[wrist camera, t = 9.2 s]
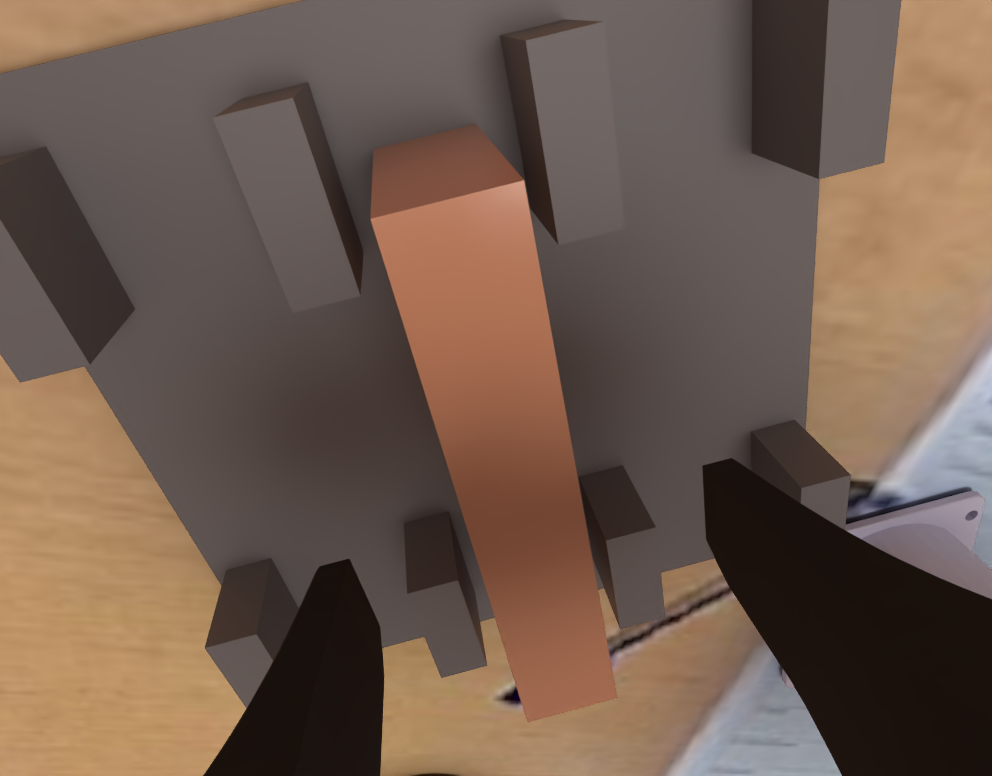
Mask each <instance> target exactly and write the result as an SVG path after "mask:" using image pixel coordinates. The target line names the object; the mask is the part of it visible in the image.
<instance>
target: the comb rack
mask: <svg viewBox="0 0 992 776" xmlns="http://www.w3.org/2000/svg"><path fill="white" fill-rule="evenodd" d="M900 8H901V0H304V1H300V2H296V3H292V4H287V5H283V6H279V7H275V8H271V9H267V10H263V11H258V12H254V13H250V14H246V15H242V16H238V17H234V18H229V19H225V20H221V21H217V22H213V23H209V24H205V25H200V26H196V27H192V28H188V29H184V30H180V31H176V32H171V33H167V34H163V35H159V36H155V37H151V38H147V39H143V40H138V41H134V42H130V43H126V44H122V45H118V46H114V47H109V48H105V49H101V50H97V51H93V52H89V53H85V54H80V55H76V56H72V57H68V58H64V59H60V60H56V61H51V62H47V63H43V64H39V65H35V66H31V67H27V68H22V69H18V70H14V71H10V72H6V73H2V74H0V354H1V356H2V357H3V359H4V360H5V362H6V363H7V364H8V366H9V367H10V369H11V370H12V372H13V373H14V375H15V376H16V377H17V379H18V380H19V382H20V383H21V382H25V381H28V380H32V379H36V378H40V377H44V376H48V375H52V374H56V373H60V372H64V371H68V370H72V369H76V368H79V367H83V366H85V368H86V369H87V371H88V372H89V374H90V376H91V377H92V379H93V380H94V382H95V384H96V385H97V387H98V388H99V390H100V392H101V393H102V395H103V396H104V398H105V400H106V401H107V403H108V404H109V406H110V408H111V409H112V411H113V413H114V414H115V416H116V417H117V419H118V421H119V422H120V424H121V425H122V427H123V429H124V430H125V432H126V433H127V435H128V437H129V438H130V440H131V441H132V443H133V445H134V446H135V448H136V449H137V451H138V453H139V454H140V456H141V457H142V459H143V461H144V462H145V464H146V465H147V467H148V469H149V470H150V472H151V473H152V475H153V477H154V478H155V480H156V481H157V483H158V485H159V486H160V488H161V489H162V491H163V493H164V494H165V496H166V497H167V499H168V501H169V502H170V504H171V505H172V507H173V509H174V510H175V512H176V513H177V515H178V517H179V518H180V520H181V521H182V523H183V525H184V526H185V528H186V529H187V531H188V533H189V534H190V536H191V538H192V539H193V541H194V542H195V544H196V546H197V547H198V549H199V550H200V552H201V554H202V555H203V557H204V558H205V560H206V562H207V563H208V565H209V566H210V568H211V570H212V571H213V573H214V574H215V576H216V578H217V579H218V581H219V582H220V584H221V586H222V587H221V590H220V594H219V598H218V601H217V605H216V609H215V612H214V616H213V620H212V623H211V627H210V631H209V634H208V638H207V642H206V645H205V649H206V651H207V652H208V654H209V655H210V656H211V658H212V659H213V661H214V662H215V664H216V665H217V667H218V668H219V669H220V671H221V672H222V674H223V675H224V677H225V678H226V679H227V681H228V682H229V684H230V685H231V687H232V688H233V690H234V691H235V692H236V694H237V695H238V697H239V698H240V700H241V701H242V702H243V704H244V705H245V707H246V708H247V707H248V705H249V703H250V702H251V700H252V698H253V696H254V695H255V693H256V691H257V689H258V687H259V686H260V684H261V682H262V680H263V679H264V677H265V675H266V673H267V671H268V670H269V668H270V666H271V664H272V662H273V660H274V658H275V656H276V654H277V652H278V650H279V648H280V646H281V644H282V642H283V640H284V638H285V636H286V634H287V632H288V630H289V628H290V626H291V624H292V622H293V620H294V618H295V616H296V614H297V612H298V609H299V607H300V605H301V603H302V601H303V599H304V596H305V594H306V592H307V590H308V588H309V585H310V583H311V581H312V579H313V577H314V574H315V572H316V571H317V569H318V568H319V566H322V565H326V564H330V563H334V562H338V561H341V560H345V559H350V561H351V563H352V565H353V567H354V570H355V572H356V574H357V576H358V578H359V581H360V583H361V585H362V587H363V589H364V592H365V594H366V596H367V598H368V600H369V602H370V605H371V607H372V609H373V611H374V613H375V616H376V618H377V620H378V622H379V624H380V629H381V641H382V648H384V647H387V646H391V645H395V644H399V643H402V642H406V641H410V640H413V639H417V638H421V637H425V639H426V641H427V644H428V646H429V649H430V651H431V654H432V656H433V659H434V661H435V663H436V666H437V668H438V671H439V673H440V676H441V678H443V677H447V676H450V675H454V674H458V673H461V672H465V671H469V670H473V669H476V668H480V667H484V666H487V661H486V655H485V649H484V643H483V637H482V631H481V625H480V621H484V620H487V619H491V618H495V616H494V613H493V610H492V607H491V603H490V600H489V597H488V594H487V591H486V587H485V584H484V581H483V578H482V575H481V571H480V568H479V565H478V562H477V559H476V555H475V552H474V549H473V546H472V543H471V539H470V536H469V533H468V530H467V527H466V523H465V520H464V517H463V514H462V511H461V507H460V504H459V501H458V498H457V495H456V491H455V488H454V485H453V482H452V479H451V475H450V472H449V469H448V466H447V463H446V459H445V456H444V453H443V450H442V447H441V443H440V440H439V437H438V434H437V431H436V427H435V424H434V421H433V418H432V415H431V411H430V408H429V405H428V402H427V398H426V395H425V392H424V389H423V386H422V382H421V379H420V376H419V373H418V370H417V366H416V363H415V360H414V357H413V354H412V350H411V347H410V344H409V341H408V338H407V334H406V331H405V328H404V325H403V322H402V318H401V315H400V312H399V309H398V306H397V302H396V299H395V296H394V293H393V290H392V286H391V283H390V280H389V277H388V274H387V270H386V267H385V264H384V261H383V258H382V254H381V251H380V248H379V245H378V242H377V238H376V235H375V232H374V229H373V226H372V222H371V219H370V217H371V194H372V171H373V149H376V148H380V147H384V146H388V145H392V144H396V143H400V142H404V141H408V140H412V139H416V138H420V137H424V136H428V135H432V134H436V133H440V132H444V131H449V130H453V129H457V128H461V127H465V126H469V125H473V124H477V125H478V126H479V128H480V129H481V130H482V131H483V132H484V134H485V135H486V136H487V137H488V138H489V139H490V141H491V142H492V143H493V144H494V145H495V146H496V148H497V149H498V150H499V151H500V152H501V154H502V155H503V156H504V157H505V158H506V159H507V161H508V162H509V163H510V164H511V165H512V166H513V168H514V169H515V170H516V171H517V172H518V174H519V175H520V176H521V177H522V178H523V179H524V182H525V187H526V193H527V199H528V204H529V210H530V215H531V221H532V226H533V232H534V237H535V243H536V249H537V254H538V260H539V265H540V271H541V276H542V282H543V288H544V293H545V299H546V304H547V310H548V315H549V321H550V327H551V332H552V338H553V343H554V349H555V354H556V360H557V365H558V371H559V377H560V382H561V388H562V393H563V399H564V404H565V410H566V416H567V421H568V427H569V432H570V438H571V443H572V449H573V455H574V460H575V466H576V471H577V477H578V482H579V488H580V493H581V499H582V505H583V510H584V516H585V521H586V527H587V532H588V538H589V544H590V549H591V555H592V560H593V566H594V571H595V577H596V582H597V588H598V590H599V589H602V588H604V589H605V591H606V594H607V596H608V599H609V602H610V604H611V607H612V609H613V612H614V614H615V617H616V620H617V622H618V625H619V627H620V629H623V628H627V627H631V626H634V625H638V624H642V623H645V622H649V621H653V620H656V619H660V618H664V617H665V609H664V599H663V589H662V580H661V573H662V572H665V571H669V570H673V569H676V568H680V567H684V566H688V565H691V564H695V563H699V562H702V561H706V560H710V559H713V558H715V557H714V555H713V553H712V551H711V549H710V547H709V545H708V543H707V541H706V530H705V510H704V490H703V470H702V466H703V465H706V464H710V463H714V462H718V461H722V460H725V459H729V458H733V459H734V460H736V461H738V462H739V463H741V464H742V465H744V466H745V467H747V468H748V469H750V470H751V471H753V472H754V473H756V474H757V475H759V476H760V477H762V478H763V479H765V480H766V481H768V482H769V483H771V484H772V485H774V486H775V487H777V488H778V489H780V490H781V491H783V492H784V493H786V494H787V495H789V496H790V497H792V498H793V499H795V500H796V501H798V502H800V503H801V504H803V505H804V506H806V507H808V508H809V509H811V510H812V511H814V512H816V513H817V514H819V515H821V516H822V517H824V518H825V519H827V520H829V521H830V522H832V523H834V524H835V525H837V526H839V527H841V528H842V529H844V530H845V525H846V516H847V506H848V497H849V488H850V478H851V475H850V474H849V473H848V472H847V471H846V470H845V469H844V468H843V467H842V466H841V465H840V464H839V463H838V462H837V461H836V460H835V459H834V458H833V457H832V456H831V455H830V454H829V453H828V452H827V451H826V450H825V449H824V448H823V447H822V446H821V445H820V444H819V443H818V442H817V441H816V440H815V439H814V438H813V437H812V436H811V435H810V434H809V433H808V432H807V431H806V412H807V394H808V376H809V358H810V341H811V323H812V305H813V287H814V269H815V252H816V234H817V216H818V198H819V180H820V179H822V178H826V177H829V176H833V175H837V174H841V173H845V172H849V171H853V170H857V169H861V168H865V167H869V166H873V165H877V164H880V163H884V158H885V149H886V140H887V130H888V121H889V111H890V102H891V93H892V83H893V74H894V64H895V55H896V46H897V36H898V27H899V17H900Z"/></svg>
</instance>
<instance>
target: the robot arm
mask: <svg viewBox="0 0 992 776" xmlns="http://www.w3.org/2000/svg"><path fill="white" fill-rule="evenodd" d="M702 470H703V490H704V510H705V530H706V541H707V543H708V545H709V547H710V549H711V551H712V553H713V555H714V557H715V559H716V561H717V564H718V566H719V568H720V569H721V571H722V573H723V575H724V577H725V579H726V581H727V583H728V585H729V587H730V588H731V590H732V591H733V593H734V595H735V596H736V598H737V599H738V601H739V602H740V604H741V605H742V607H743V609H744V610H745V612H746V613H747V615H748V616H749V618H750V619H751V621H752V622H753V624H754V625H755V627H756V629H757V630H758V632H759V633H760V635H761V636H762V638H763V639H764V641H765V642H766V644H767V645H768V647H769V648H770V650H771V651H772V653H773V654H774V656H775V658H776V659H777V661H778V662H779V664H780V665H781V667H782V680H783V682H784V683H785V685H786V686H787V687H789V688H795V689H796V690H797V692H798V694H799V695H800V697H801V699H802V700H803V702H804V704H805V705H806V707H807V709H808V711H809V713H810V715H811V717H812V719H813V721H814V722H815V724H816V726H817V728H818V730H819V732H820V734H821V736H822V738H823V739H824V741H825V743H826V745H827V747H828V749H829V751H830V753H831V755H832V757H833V759H834V761H835V763H836V765H837V767H838V768H839V770H840V772H841V774H842V776H992V570H991V569H990V568H989V567H988V566H987V565H986V564H985V563H984V562H983V561H981V560H980V559H979V558H978V557H977V556H976V555H975V554H974V553H973V552H972V551H973V548H974V544H975V540H976V536H977V532H978V528H979V524H980V520H981V516H982V512H983V508H984V504H985V499H984V497H983V496H982V495H980V494H979V493H978V492H976V491H968V492H964V493H961V494H957V495H953V496H949V497H946V498H942V499H938V500H935V501H931V502H927V503H924V504H920V505H916V506H912V507H909V508H905V509H901V510H898V511H894V512H890V513H886V514H883V515H879V516H875V517H872V518H868V519H864V520H861V521H857V522H853V523H849V524H846V525H845V530H844V529H842V528H841V527H839V526H837V525H835V524H834V523H832V522H830V521H829V520H827V519H825V518H824V517H822V516H821V515H819V514H817V513H816V512H814V511H812V510H811V509H809V508H808V507H806V506H804V505H803V504H801V503H800V502H798V501H796V500H795V499H793V498H792V497H790V496H789V495H787V494H786V493H784V492H783V491H781V490H780V489H778V488H777V487H775V486H774V485H772V484H771V483H769V482H768V481H766V480H765V479H763V478H762V477H760V476H759V475H757V474H756V473H754V472H753V471H751V470H750V469H748V468H747V467H745V466H744V465H742V464H741V463H739V462H738V461H736V460H734V459H733V458H729V459H725V460H722V461H718V462H714V463H710V464H706V465H703V466H702ZM383 696H384V667H383V652H382V641H381V629H380V624H379V622H378V620H377V618H376V616H375V613H374V611H373V609H372V607H371V605H370V602H369V600H368V598H367V596H366V594H365V592H364V589H363V587H362V585H361V583H360V581H359V578H358V576H357V574H356V572H355V570H354V567H353V565H352V563H351V561H350V559H345V560H341V561H338V562H334V563H330V564H326V565H322V566H319V568H318V569H317V571H316V572H315V574H314V577H313V579H312V581H311V583H310V585H309V588H308V590H307V592H306V594H305V596H304V599H303V601H302V603H301V605H300V607H299V609H298V612H297V614H296V616H295V618H294V620H293V622H292V624H291V626H290V628H289V630H288V632H287V634H286V636H285V638H284V640H283V642H282V644H281V646H280V648H279V650H278V652H277V654H276V656H275V658H274V660H273V662H272V664H271V666H270V668H269V670H268V671H267V673H266V675H265V677H264V679H263V680H262V682H261V684H260V686H259V687H258V689H257V691H256V693H255V695H254V696H253V698H252V700H251V702H250V703H249V705H248V707H247V709H246V710H245V712H244V714H243V715H242V717H241V719H240V720H239V722H238V724H237V725H236V727H235V729H234V730H233V732H232V733H231V735H230V736H229V738H228V740H227V741H226V743H225V744H224V746H223V747H222V749H221V750H220V752H219V753H218V755H217V756H216V758H215V759H214V761H213V762H212V764H211V765H210V767H209V768H208V770H207V771H206V773H205V774H204V775H203V776H380V767H381V744H382V722H383Z"/></svg>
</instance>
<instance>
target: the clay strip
mask: <svg viewBox="0 0 992 776" xmlns="http://www.w3.org/2000/svg"><path fill="white" fill-rule="evenodd" d="M370 219H371V222H372V226H373V229H374V232H375V235H376V238H377V242H378V245H379V248H380V251H381V254H382V258H383V261H384V264H385V267H386V270H387V274H388V277H389V280H390V283H391V286H392V290H393V293H394V296H395V299H396V302H397V306H398V309H399V312H400V315H401V318H402V322H403V325H404V328H405V331H406V334H407V338H408V341H409V344H410V347H411V350H412V354H413V357H414V360H415V363H416V366H417V370H418V373H419V376H420V379H421V382H422V386H423V389H424V392H425V395H426V398H427V402H428V405H429V408H430V411H431V415H432V418H433V421H434V424H435V427H436V431H437V434H438V437H439V440H440V443H441V447H442V450H443V453H444V456H445V459H446V463H447V466H448V469H449V472H450V475H451V479H452V482H453V485H454V488H455V491H456V495H457V498H458V501H459V504H460V507H461V511H462V514H463V517H464V520H465V523H466V527H467V530H468V533H469V536H470V539H471V543H472V546H473V549H474V552H475V555H476V559H477V562H478V565H479V568H480V571H481V575H482V578H483V581H484V584H485V587H486V591H487V594H488V597H489V600H490V603H491V607H492V610H493V613H494V616H495V619H496V623H497V626H498V629H499V632H500V635H501V639H502V642H503V645H504V648H505V651H506V655H507V658H508V661H509V664H510V667H511V671H512V674H513V677H514V680H515V683H516V687H517V690H518V693H519V696H520V699H521V703H522V706H523V709H524V712H525V716H526V719H527V722H530V721H534V720H538V719H541V718H545V717H549V716H552V715H556V714H560V713H563V712H567V711H570V710H574V709H578V708H581V707H585V706H589V705H592V704H596V703H600V702H603V701H607V700H610V699H614V698H617V694H616V688H615V683H614V677H613V672H612V666H611V660H610V655H609V649H608V644H607V638H606V633H605V627H604V621H603V616H602V610H601V605H600V599H599V594H598V588H597V582H596V577H595V571H594V566H593V560H592V555H591V549H590V544H589V538H588V532H587V527H586V521H585V516H584V510H583V505H582V499H581V493H580V488H579V482H578V477H577V471H576V466H575V460H574V455H573V449H572V443H571V438H570V432H569V427H568V421H567V416H566V410H565V404H564V399H563V393H562V388H561V382H560V377H559V371H558V365H557V360H556V354H555V349H554V343H553V338H552V332H551V327H550V321H549V315H548V310H547V304H546V299H545V293H544V288H543V282H542V276H541V271H540V265H539V260H538V254H537V249H536V243H535V237H534V232H533V226H532V221H531V215H530V210H529V204H528V199H527V193H526V187H525V182H524V179H523V178H522V177H521V176H520V175H519V174H518V172H517V171H516V170H515V169H514V168H513V166H512V165H511V164H510V163H509V162H508V161H507V159H506V158H505V157H504V156H503V155H502V154H501V152H500V151H499V150H498V149H497V148H496V146H495V145H494V144H493V143H492V142H491V141H490V139H489V138H488V137H487V136H486V135H485V134H484V132H483V131H482V130H481V129H480V128H479V126H478V125H477V124H473V125H469V126H465V127H461V128H457V129H453V130H449V131H444V132H440V133H436V134H432V135H428V136H424V137H420V138H416V139H412V140H408V141H404V142H400V143H396V144H392V145H388V146H384V147H380V148H376V149H373V171H372V194H371V217H370Z"/></svg>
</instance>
